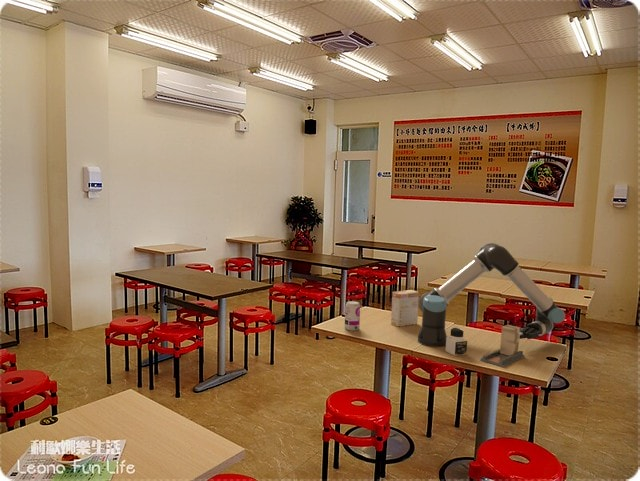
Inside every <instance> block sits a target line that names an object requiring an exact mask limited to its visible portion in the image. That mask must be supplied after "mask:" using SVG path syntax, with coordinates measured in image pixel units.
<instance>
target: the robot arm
mask: <svg viewBox="0 0 640 481" xmlns="http://www.w3.org/2000/svg"><path fill="white" fill-rule="evenodd" d="M519 264H520V263H519V261H517V260H516V259H515V258H514V257H513V255H512V254H511V253H510V251H508V249H507V248H505V247H504V246H502V245H499V244H497V243H494V242H492V243H491V242H490V243H485V244H484V245H482V246H481V247H480V249H479V251H478V252H477V253H476V254H474V255H473V260H471V261H470V262H469V263H468V264H466V266H464V267H463V268H462V269H460V271H458V272H457V273H456V274H454V275H453V276H452V277H450V279H448V280H447V281H445V282H444V283H443V284H442V285H441V286H439V287H438V288H437V287H433V288H432V289H431V290H430V291H427V292H426V293H423V294H422V295H421V297H420V298H419V299H418V308H419V310H420V312H421V313H422V315H421V316H422V317H421V318H422V320H421V328H420V330H419V333H418V335H417V342H418V343H419V342H420V344H421V343H422V345H424V344H425V345H424V346H428V345H429V347H444V346H445V347H446V338H447V337H448V335H447V332H446V318H447V317H446V316H447V315H446V314H447V307H448V306H449V305H450V301H451V300H452V299H453V298H454V297H456V296H457V295H458V294H459V293H461V292H462V291H463V290H464V289H466V288H467V287H468V286H469V285H470V284H472V283H473V282H474V281H476V280H477V279H478V278H479V277H480V276H482V275H483V274H484V273H490V272H491V271H493V270H494V269H495V270H496V271H498V273H500V274H501V275H502V276H503V277H507V279H509V280H510V281H511V282H512V284H514V285H515V287H517V289H519V290H520V292H521V293H523V295H524V296H525V297H526V298H527V299H528V300H529V301H530V302H531V303H532V304H533V305H534V306H535V307H536V311H535V321H532V322H531V323H527V324H526V326H525V327H522V328H521V327H520V332H519V341H520V340H523V339H527V340H531V339H537V338H542V337H543V335H546V334H547V333H550V332H552V330H553V329H554V324H560V323H562V322H563V321H564V320H565V319H566V313H565V312H564V310H562V308H559V307H558V306H557V305H556V303H555V302H554V300H553V298H552V297H549V296H548V294H546V293H545V292H544V291H543V290H542V289H541V288H540V286H538V285H537V284H536V283H535V282H534V281H533V279H531V277H530V276H529V275H528V274H527V273H526V272H525V271H524V270H523V269H522V268H521V267H520V265H519Z"/></svg>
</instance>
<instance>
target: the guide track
mask: <svg viewBox="0 0 640 481" xmlns="http://www.w3.org/2000/svg"><path fill="white" fill-rule="evenodd" d="M523 353H524V351H522V350H518V352H517V353H514V354H512V355H510V356H508V355H505V354H501V353H500V348H498V349H495V350H493V351H490V352H488V353H487V354H484V355H482V357H480V361H481V362H485V363H488V364H492V365H493V366H494V365H495V366H499V367H502V368H505V367H506V366H509V365H511V364H513V363H515V362H517V361H519V360H521V359H523V358H525V357H526V355H525V354H523Z"/></svg>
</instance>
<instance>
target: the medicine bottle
mask: <svg viewBox="0 0 640 481" xmlns="http://www.w3.org/2000/svg"><path fill="white" fill-rule="evenodd" d="M464 331H465V330H464V329H462V328H460V327H453V328H451V329H450V336H447V338H446V345H445V352H446V353H448V354H450V355H453V356H454V357H457V356H464V355H467V352H468V351H467V349H468V348H467V347H468V339H465V338H464V337H465V336H464V335H465V334H464Z"/></svg>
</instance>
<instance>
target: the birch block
mask: <svg viewBox="0 0 640 481" xmlns="http://www.w3.org/2000/svg"><path fill="white" fill-rule="evenodd" d="M520 328H521V327H520V326H515V325H510V324H506V325H503V326H501V336H500V347H499V349H500V353H501V354H505V355H508V356H510V355H512V354H514V353H517V352H519V343H520V340H519V332H520Z"/></svg>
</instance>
